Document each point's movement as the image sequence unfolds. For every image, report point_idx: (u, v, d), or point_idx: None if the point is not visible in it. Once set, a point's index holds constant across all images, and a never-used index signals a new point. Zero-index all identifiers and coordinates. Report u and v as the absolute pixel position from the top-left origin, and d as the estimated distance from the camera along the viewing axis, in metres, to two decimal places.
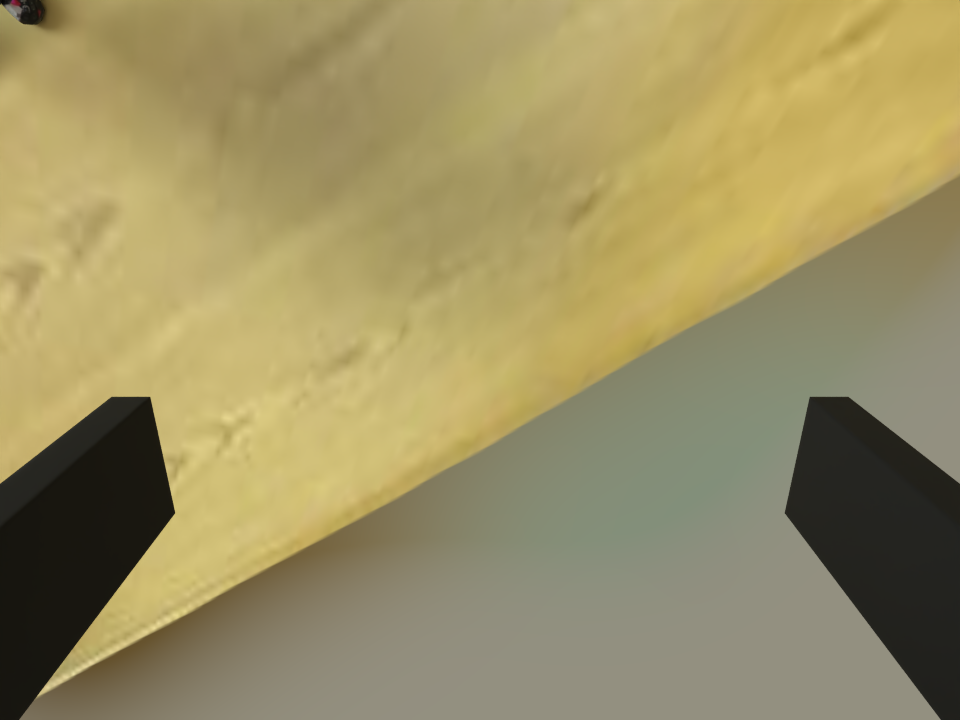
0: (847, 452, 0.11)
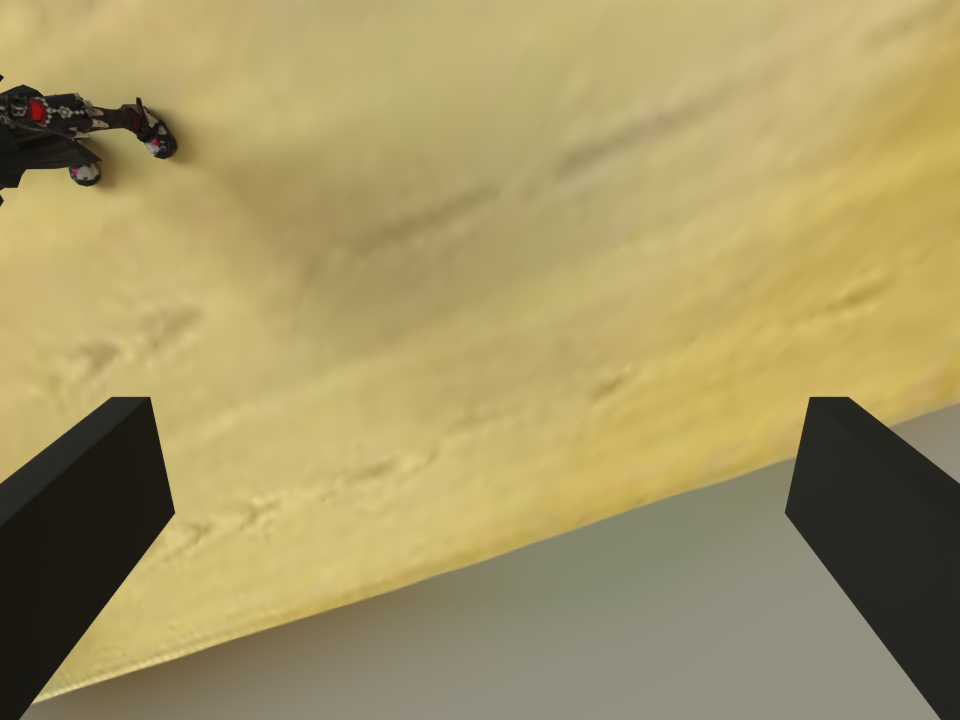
0: (846, 452, 0.11)
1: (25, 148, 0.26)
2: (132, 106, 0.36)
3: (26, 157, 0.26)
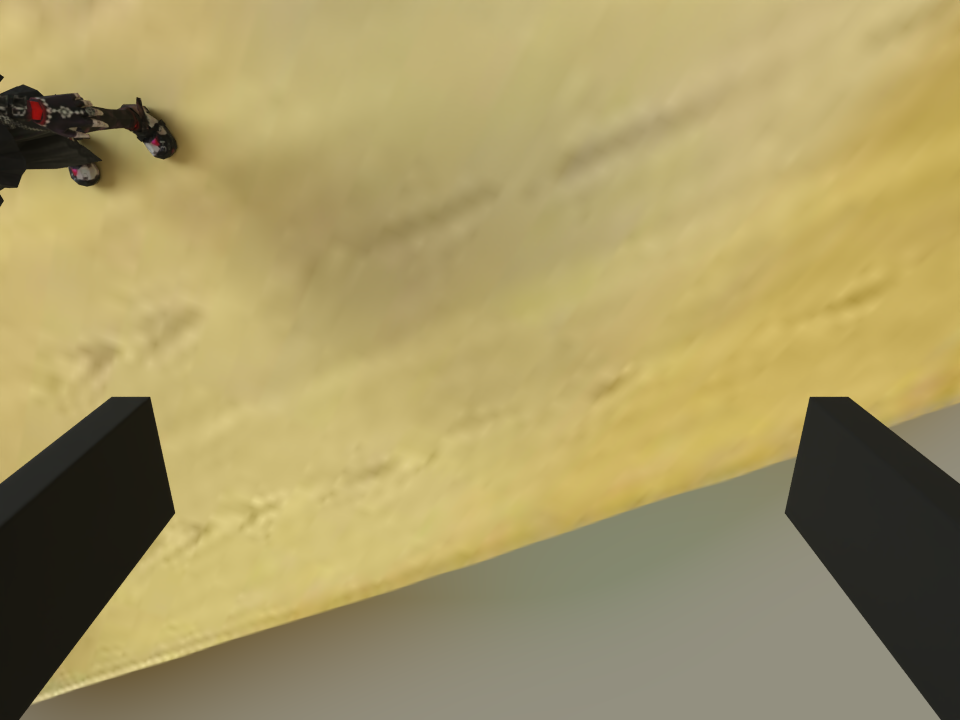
0: (846, 452, 0.11)
1: (25, 148, 0.26)
2: (132, 106, 0.36)
3: (26, 157, 0.26)
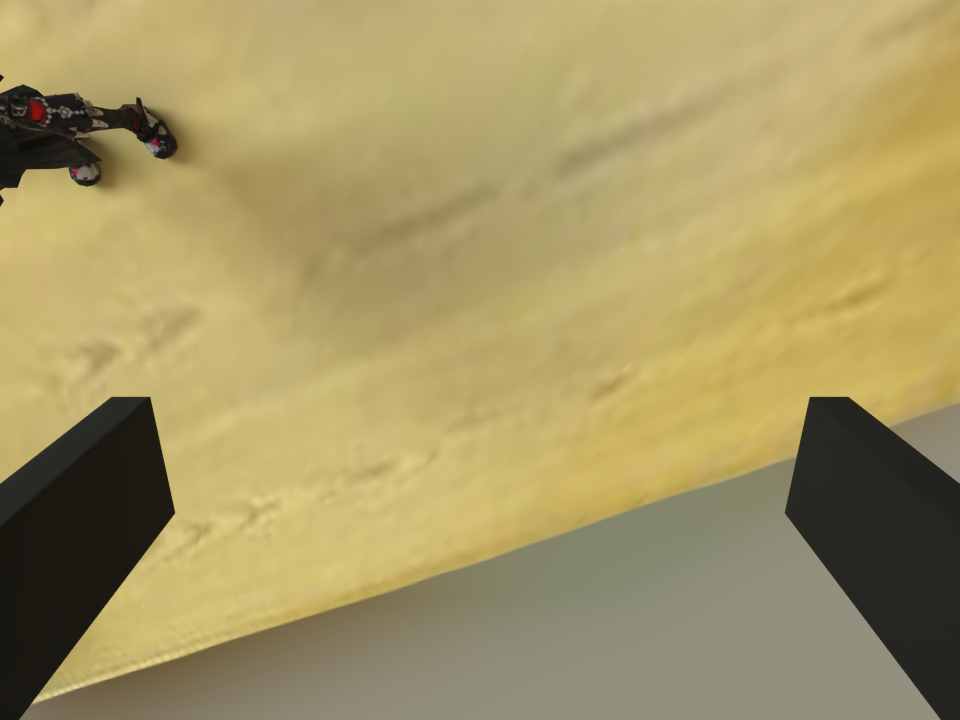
0: (846, 452, 0.11)
1: (25, 148, 0.26)
2: (132, 106, 0.36)
3: (26, 157, 0.26)
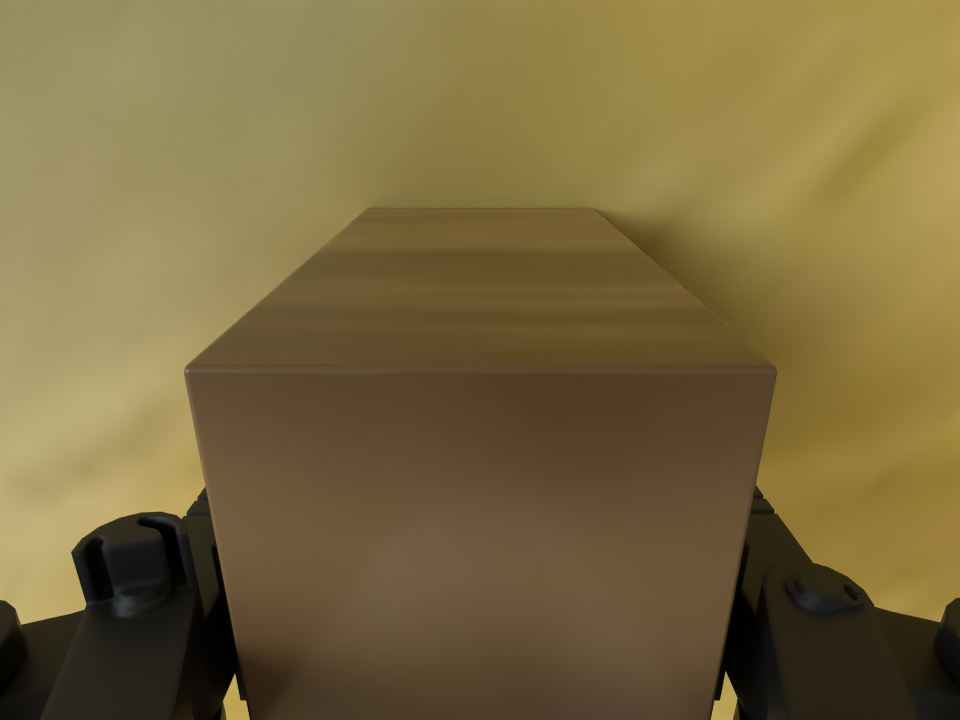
0: None
1: None
2: None
3: None
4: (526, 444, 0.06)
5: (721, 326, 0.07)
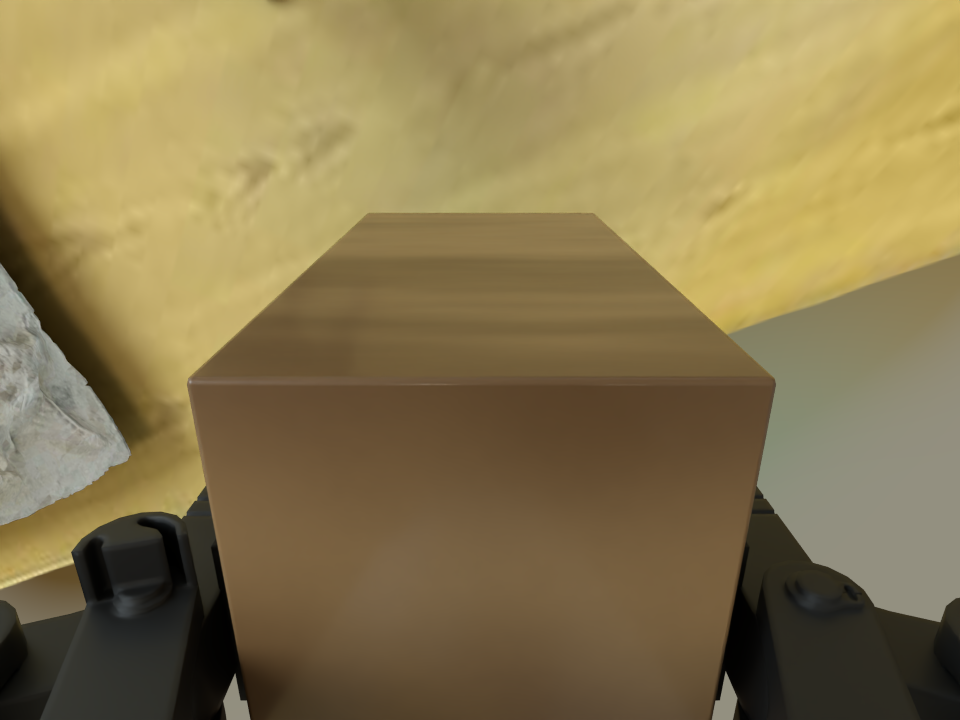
0: None
1: None
2: None
3: None
4: (527, 455, 0.06)
5: (721, 336, 0.07)
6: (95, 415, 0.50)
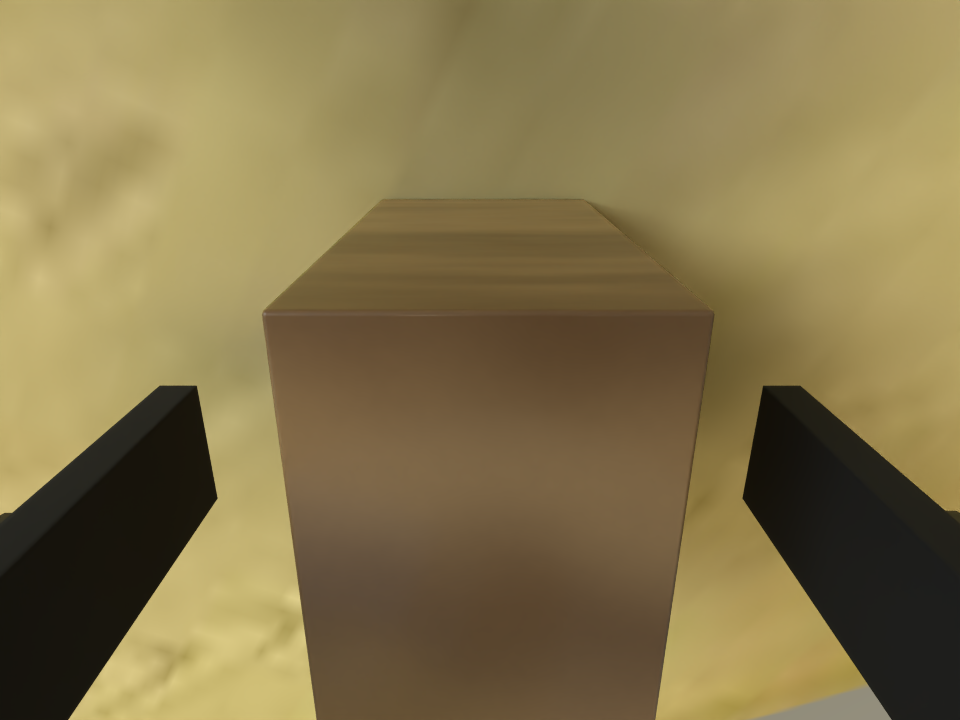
0: (794, 438, 0.11)
1: None
2: None
3: None
4: (523, 372, 0.08)
5: (677, 285, 0.08)
6: None
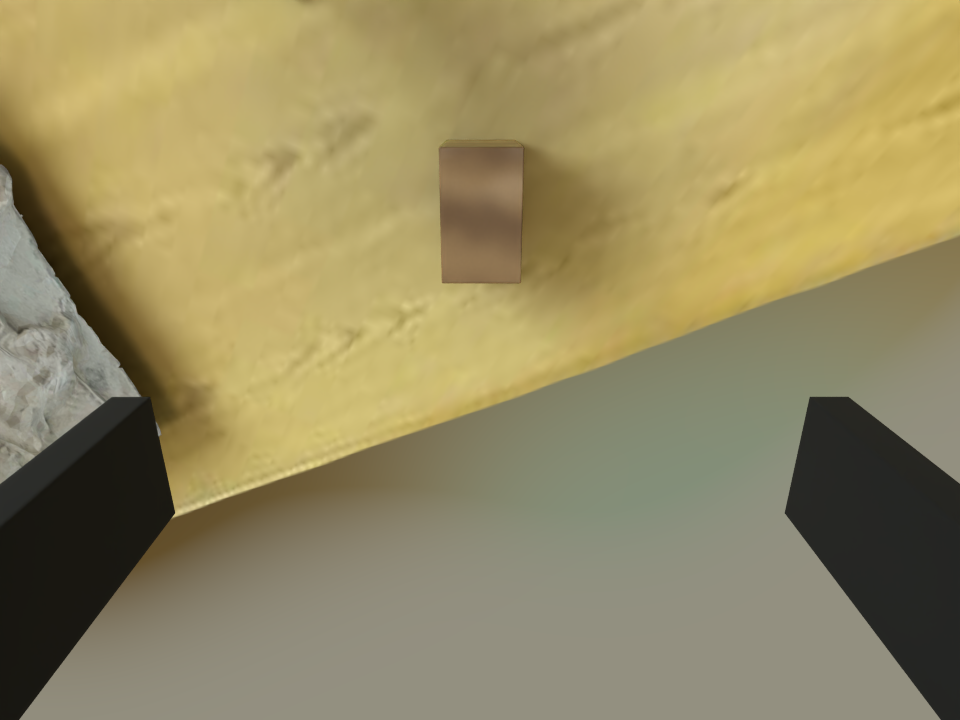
0: (846, 452, 0.11)
1: None
2: None
3: None
4: (488, 160, 0.40)
5: (521, 146, 0.41)
6: (127, 396, 0.53)
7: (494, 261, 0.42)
